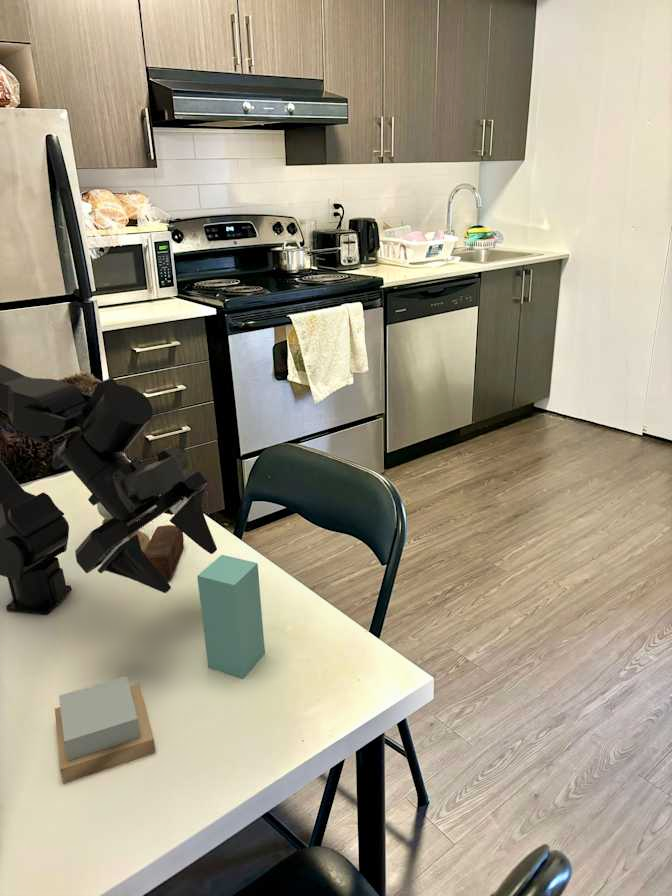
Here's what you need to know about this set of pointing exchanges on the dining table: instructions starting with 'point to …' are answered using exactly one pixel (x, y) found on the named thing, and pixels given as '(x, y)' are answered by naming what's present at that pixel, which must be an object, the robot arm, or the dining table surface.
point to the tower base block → (110, 755)
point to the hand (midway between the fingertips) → (192, 570)
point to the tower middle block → (98, 718)
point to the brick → (165, 549)
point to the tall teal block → (231, 615)
